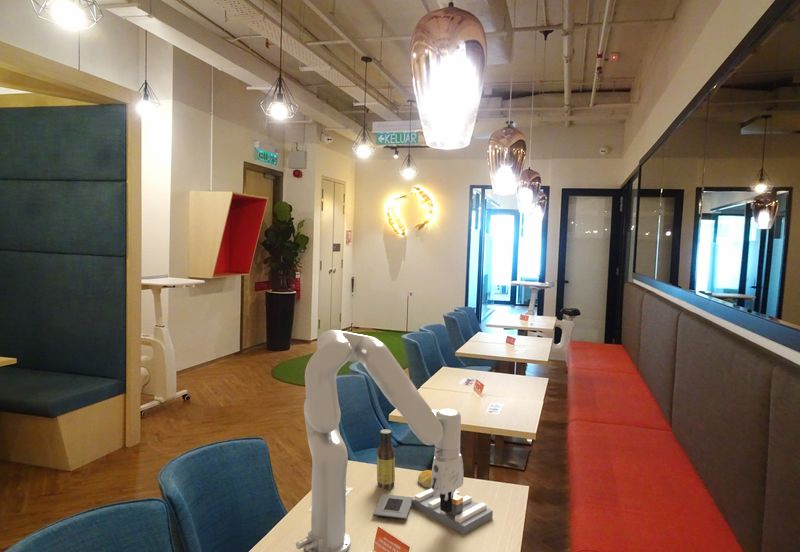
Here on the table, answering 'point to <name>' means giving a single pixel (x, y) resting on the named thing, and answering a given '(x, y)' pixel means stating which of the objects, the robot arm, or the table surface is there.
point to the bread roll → (425, 478)
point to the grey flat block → (393, 506)
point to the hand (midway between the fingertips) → (445, 510)
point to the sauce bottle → (385, 461)
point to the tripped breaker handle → (456, 505)
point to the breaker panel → (461, 523)
